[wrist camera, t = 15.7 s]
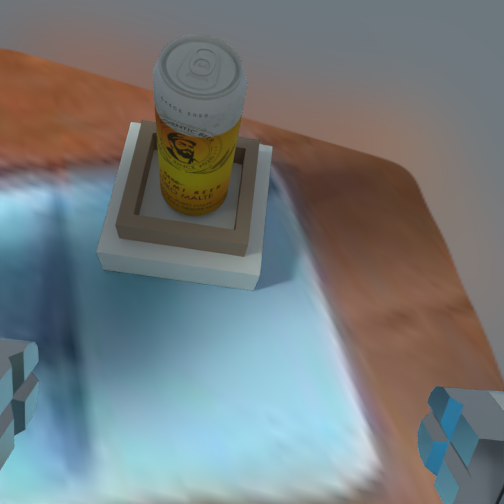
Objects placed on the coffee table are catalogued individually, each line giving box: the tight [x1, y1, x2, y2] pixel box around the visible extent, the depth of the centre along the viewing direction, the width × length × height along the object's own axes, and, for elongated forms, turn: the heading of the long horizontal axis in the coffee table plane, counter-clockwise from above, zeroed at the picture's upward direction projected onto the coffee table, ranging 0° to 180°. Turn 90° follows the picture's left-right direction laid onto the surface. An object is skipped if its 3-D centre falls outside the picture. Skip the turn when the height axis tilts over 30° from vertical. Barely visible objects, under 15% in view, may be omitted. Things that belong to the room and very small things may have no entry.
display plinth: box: [96, 120, 272, 291], centre depth 42 cm, size 14×14×6 cm
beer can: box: [153, 34, 247, 216], centre depth 35 cm, size 6×6×15 cm
